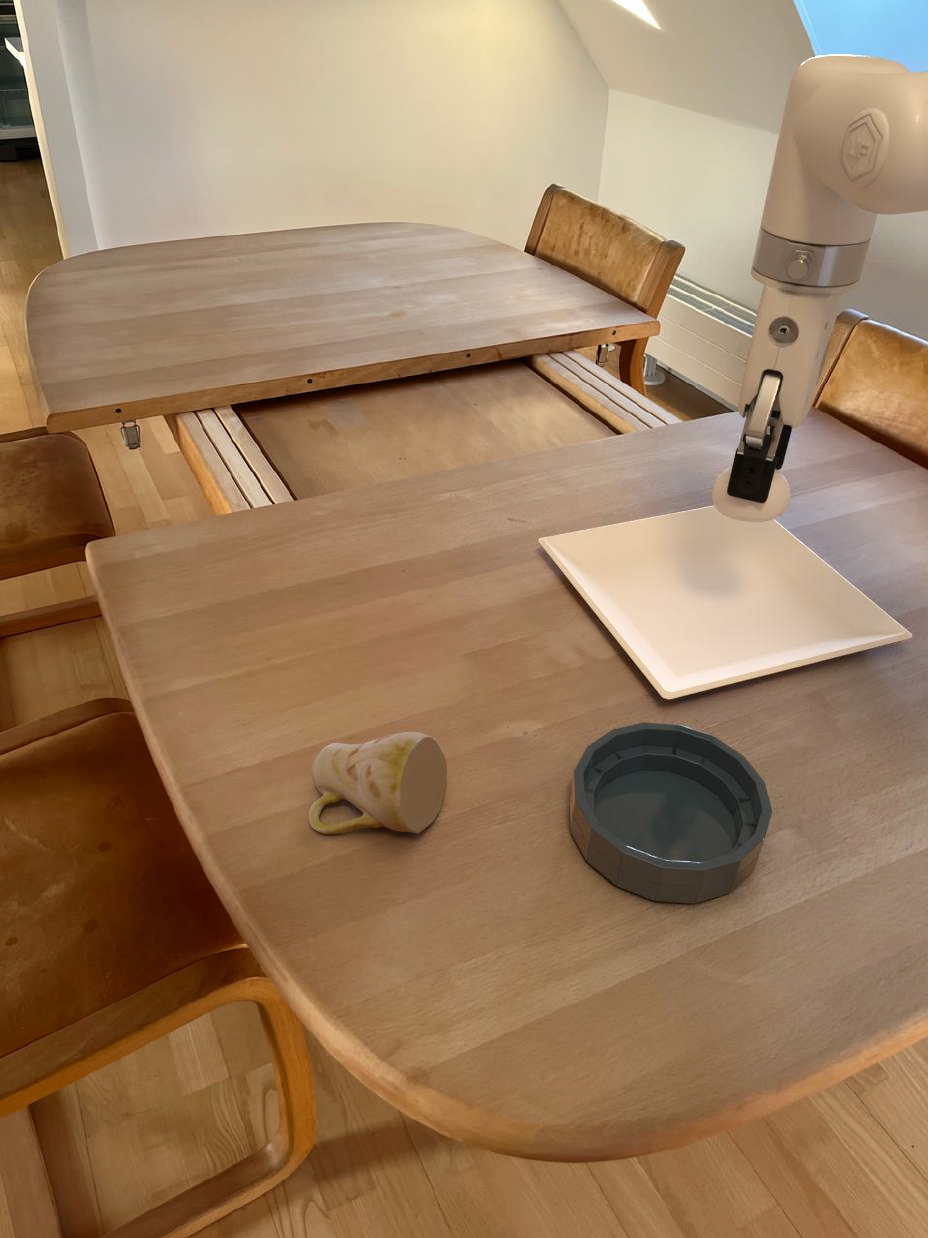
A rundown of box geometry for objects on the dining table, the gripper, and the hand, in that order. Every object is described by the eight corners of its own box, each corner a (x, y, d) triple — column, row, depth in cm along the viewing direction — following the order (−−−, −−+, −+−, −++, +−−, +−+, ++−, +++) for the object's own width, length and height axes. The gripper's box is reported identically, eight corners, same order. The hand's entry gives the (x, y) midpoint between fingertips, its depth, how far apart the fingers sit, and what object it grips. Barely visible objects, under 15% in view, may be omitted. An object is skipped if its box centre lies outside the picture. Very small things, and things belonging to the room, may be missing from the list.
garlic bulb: (745, 538, 76) (767, 449, 71) (693, 503, 80) (710, 417, 76) (800, 518, 79) (825, 432, 74) (747, 486, 83) (767, 402, 78)
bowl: (775, 796, 72) (787, 760, 69) (733, 937, 62) (746, 900, 60) (605, 737, 76) (610, 701, 74) (541, 860, 67) (545, 823, 64)
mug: (331, 751, 75) (392, 672, 69) (418, 838, 73) (487, 764, 68) (273, 796, 69) (335, 712, 63) (367, 891, 67) (438, 814, 62)
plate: (746, 512, 106) (750, 496, 104) (908, 652, 86) (915, 634, 85) (535, 553, 98) (536, 536, 97) (661, 716, 79) (665, 698, 77)
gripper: (845, 301, 59) (780, 542, 70) (877, 235, 72) (817, 449, 83) (728, 282, 62) (682, 517, 73) (778, 222, 74) (733, 431, 85)
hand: (755, 479), depth 78 cm, fingers closed on garlic bulb, 5 cm apart
